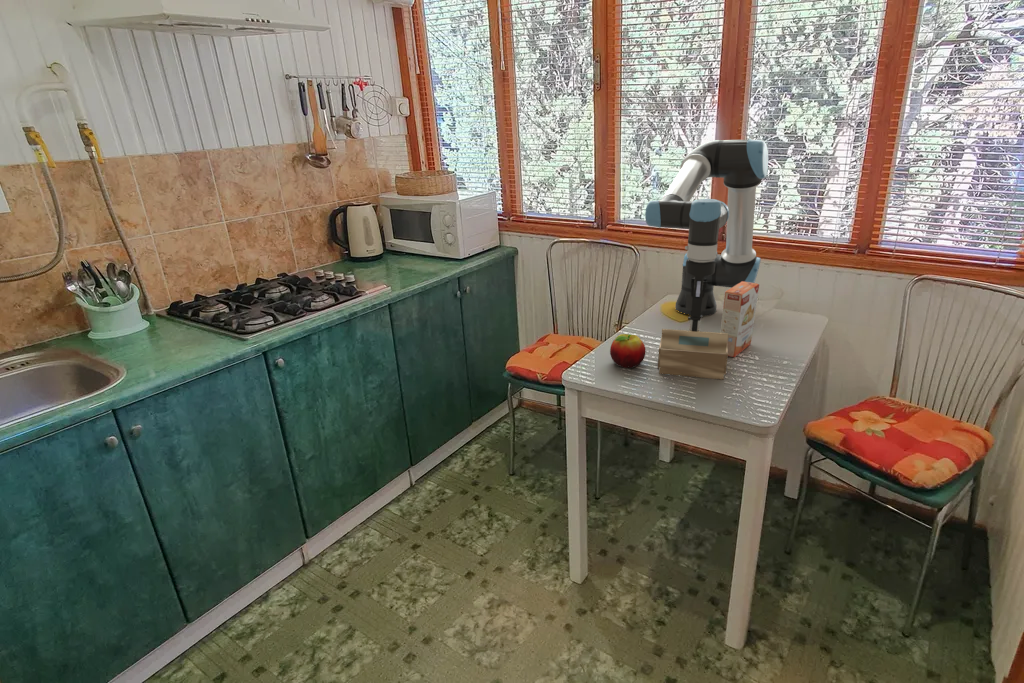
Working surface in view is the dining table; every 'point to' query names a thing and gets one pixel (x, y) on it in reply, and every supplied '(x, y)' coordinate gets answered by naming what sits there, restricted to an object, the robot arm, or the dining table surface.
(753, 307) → the cracker box
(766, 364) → the dining table surface
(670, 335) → the flap
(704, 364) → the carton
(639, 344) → the fruit
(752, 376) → the dining table surface
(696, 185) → the robot arm
